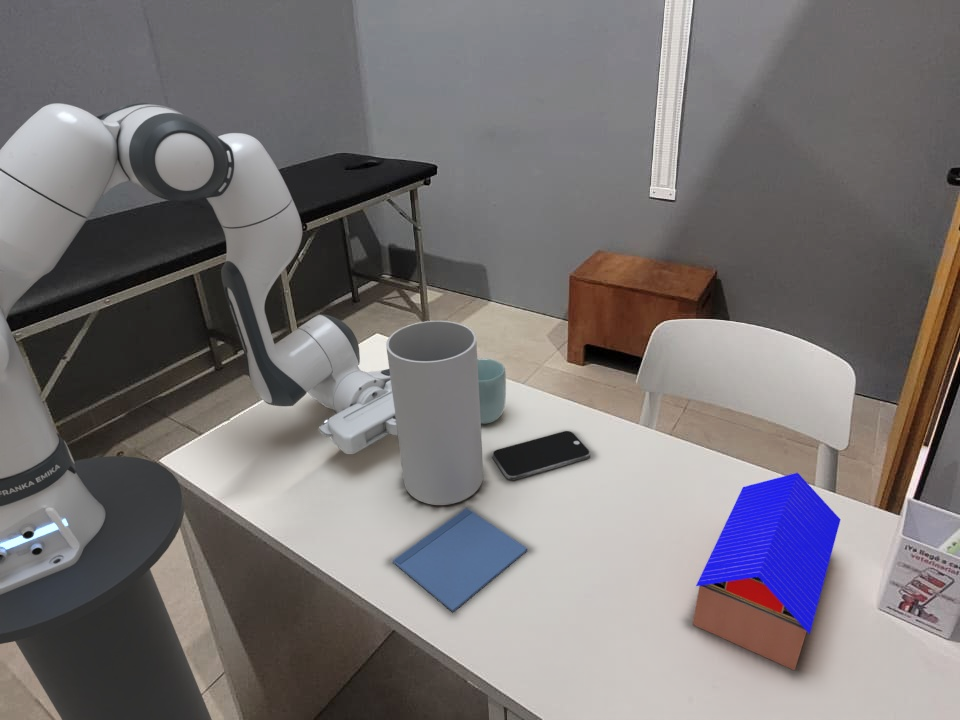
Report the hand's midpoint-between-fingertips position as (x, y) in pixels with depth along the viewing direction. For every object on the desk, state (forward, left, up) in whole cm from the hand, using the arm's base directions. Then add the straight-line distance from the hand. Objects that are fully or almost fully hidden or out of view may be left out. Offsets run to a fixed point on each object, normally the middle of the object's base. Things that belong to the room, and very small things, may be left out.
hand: (417, 430), depth 103 cm
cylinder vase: (0, -6, -7) cm, 9 cm away
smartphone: (+14, -14, -7) cm, 21 cm away
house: (+12, -52, -7) cm, 53 cm away
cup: (+16, +1, -7) cm, 18 cm away
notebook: (-10, -20, -7) cm, 23 cm away
